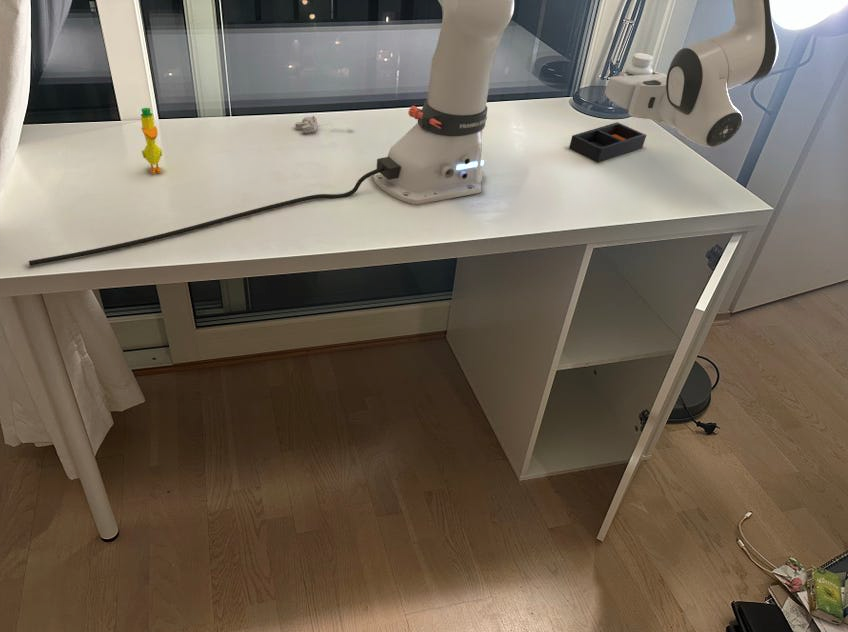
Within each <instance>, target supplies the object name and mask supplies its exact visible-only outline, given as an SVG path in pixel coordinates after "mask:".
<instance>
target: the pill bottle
mask: <svg viewBox="0 0 848 632" xmlns="http://www.w3.org/2000/svg"><path fill="white" fill-rule="evenodd" d="M631 58H632V59H631V63H630V64H628V65H627V66H626V68H625V71H624V72H627V73H629V74H630V76H633V75H652V70H653V68H652V64H653V61H654V57H653V56H652V55H651V54H647V53H643V52H638V53H637V52H636V53H633V55H632V57H631Z"/></svg>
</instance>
